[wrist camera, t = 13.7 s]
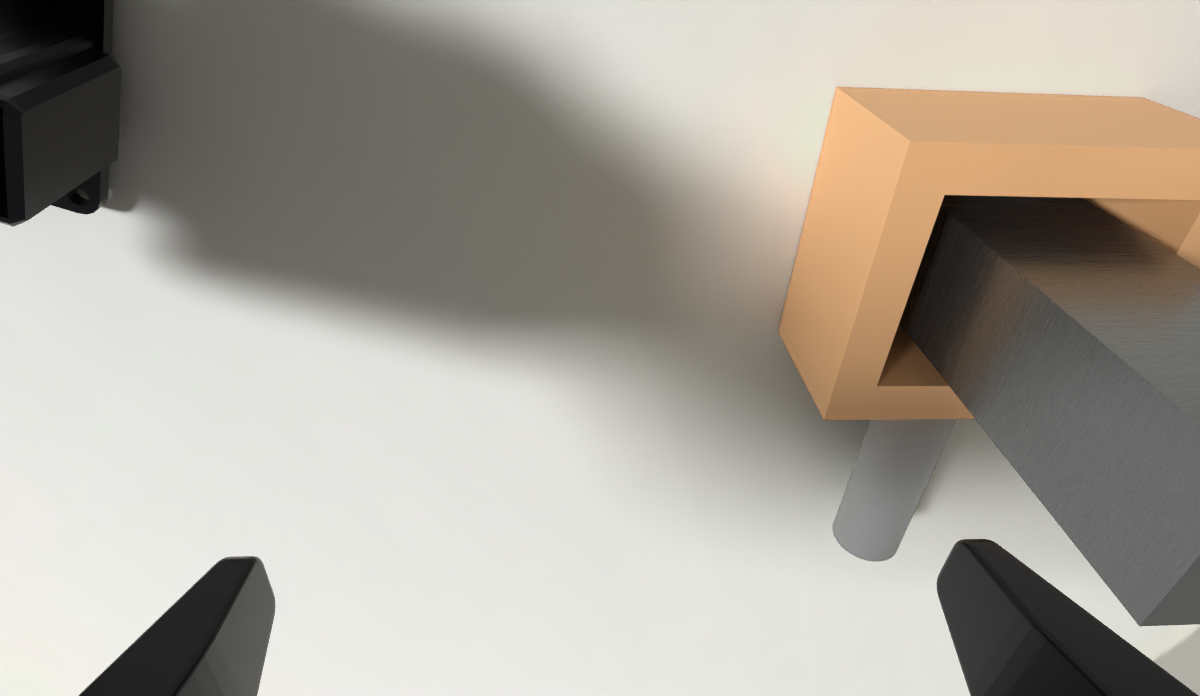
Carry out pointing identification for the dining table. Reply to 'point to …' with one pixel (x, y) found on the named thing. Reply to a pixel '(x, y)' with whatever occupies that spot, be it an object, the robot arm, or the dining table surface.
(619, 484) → the dining table surface
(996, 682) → the robot arm
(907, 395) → the bracket head
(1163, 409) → the dark grey long block
